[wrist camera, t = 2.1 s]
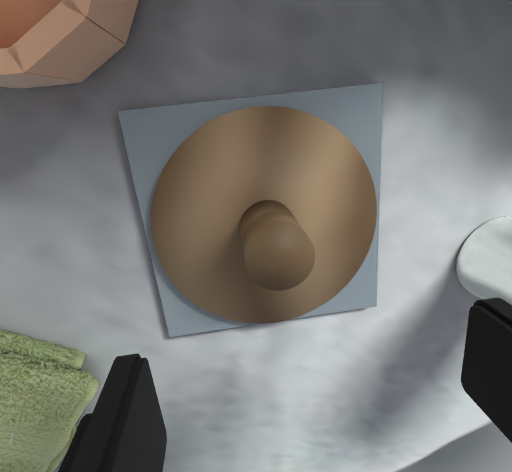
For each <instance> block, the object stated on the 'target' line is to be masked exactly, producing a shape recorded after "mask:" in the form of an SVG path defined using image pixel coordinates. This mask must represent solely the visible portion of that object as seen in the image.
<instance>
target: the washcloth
mask: <svg viewBox="0 0 512 472" xmlns="http://www.w3.org/2000/svg"><path fill="white" fill-rule="evenodd" d="M85 357H86V355H85V354H84V353H82V352H78V351H76V349H75V348H73V349H70V348H64V347H61V345H55V344H52V343H51V342H46V341H39V340H34V339H33V338H31V337H27V336H23V335H20V334H17V333H12V332H10V331H3V330H1V329H0V472H54V470H55V469H56V467H57V466H58V465H59V464H60V462H61V461H62V459H63V458H64V456H65V455H66V453H67V450H68V448H69V446H70V444H71V441H72V439H73V437H74V434H75V432H76V423H77V421H78V419H79V417H80V416H81V414H82V412H83V410H84V409H85V407H86V406H87V405H88V404H89V403H90V401H91V400H92V399H93V397H94V395H95V394H96V392H97V390H98V387H99V385H100V381H99V380H98V379H95V378H93V376H94V374H91V372H89V371H81V370H80V369H81V366H82V364H83V361H84V359H85Z"/></svg>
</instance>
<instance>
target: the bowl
mask: <svg viewBox="0 0 512 472" xmlns="http://www.w3.org/2000/svg"><path fill="white" fill-rule="evenodd" d="M138 2H139V0H0V87H9V88H20V89H22V88H32V87H42V86H52V85H62V84H72V83H81V82H82V81H84V80H85V79H86V78H87V77H88V76H89V75H91V74H92V73H93V72H94V71H95V70H97V69H98V68H99V67H100V66H101V65H102V64H104V63H105V62H106V61H107V60H108V59H109V58H111V57H112V56H113V55H114V54H115V53H116V52H118V51H119V50H120V49H121V48H122V47H124V46H125V44H126V42H127V39H128V36H129V32H130V29H131V25H132V22H133V19H134V15H135V12H136V8H137V5H138ZM124 43H125V44H124Z"/></svg>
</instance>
